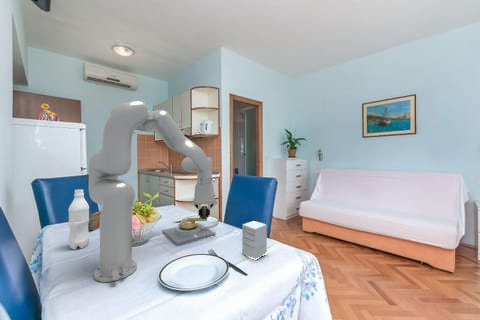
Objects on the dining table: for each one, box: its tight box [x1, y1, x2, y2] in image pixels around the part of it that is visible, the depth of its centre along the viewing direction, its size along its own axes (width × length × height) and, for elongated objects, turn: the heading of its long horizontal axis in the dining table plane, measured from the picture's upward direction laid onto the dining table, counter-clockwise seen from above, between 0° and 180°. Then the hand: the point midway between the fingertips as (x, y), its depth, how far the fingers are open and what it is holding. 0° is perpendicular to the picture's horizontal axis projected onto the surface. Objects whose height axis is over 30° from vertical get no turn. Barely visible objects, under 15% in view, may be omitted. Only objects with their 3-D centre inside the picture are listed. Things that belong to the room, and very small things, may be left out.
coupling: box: [178, 205, 208, 231], centre depth 105 cm, size 14×7×12 cm, turn 95°
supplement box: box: [241, 220, 268, 259], centre depth 83 cm, size 7×7×13 cm
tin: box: [88, 210, 102, 231], centre depth 114 cm, size 15×3×8 cm, turn 179°
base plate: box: [161, 222, 216, 247], centre depth 105 cm, size 20×20×4 cm
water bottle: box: [67, 188, 90, 250], centre depth 89 cm, size 7×7×25 cm
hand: (204, 216), depth 106 cm, fingers closed on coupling, 3 cm apart
